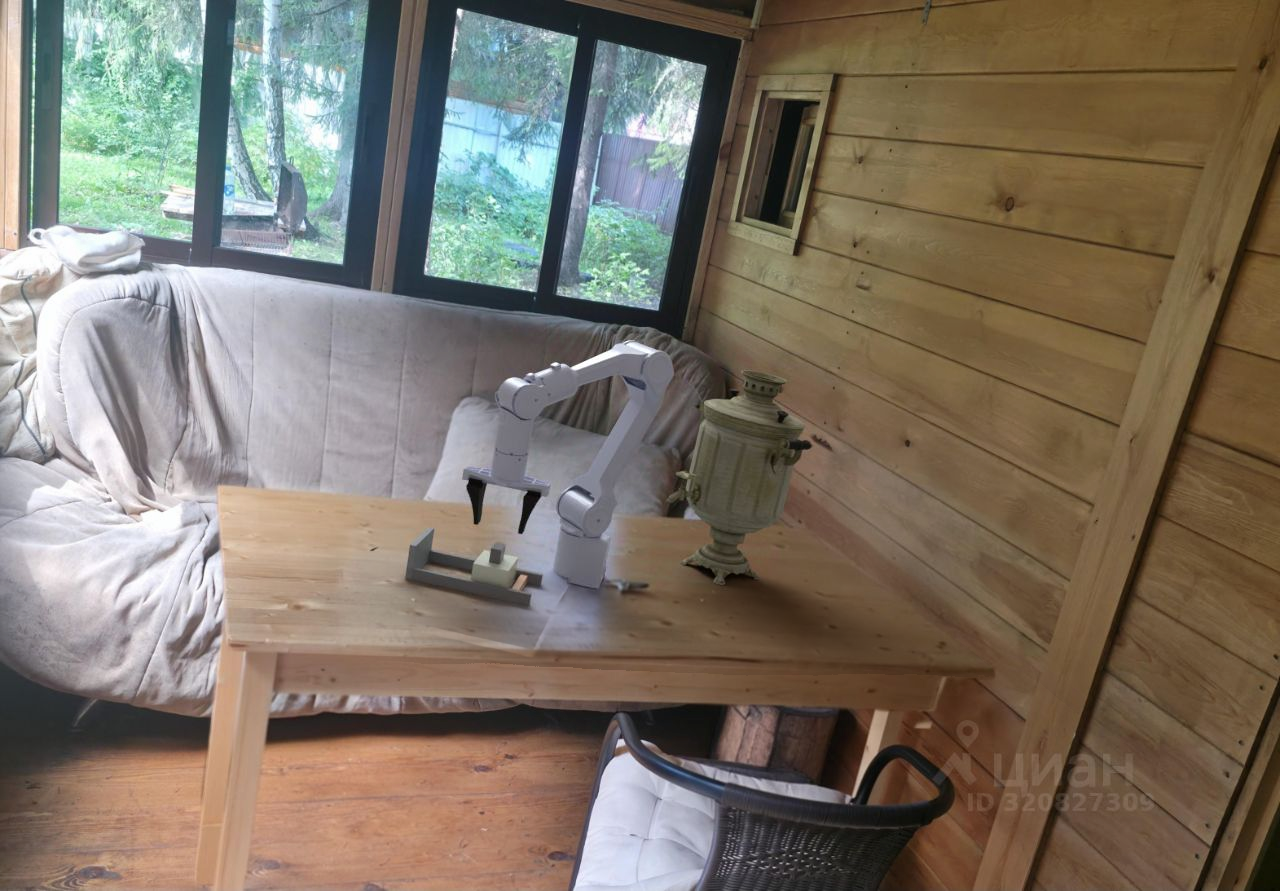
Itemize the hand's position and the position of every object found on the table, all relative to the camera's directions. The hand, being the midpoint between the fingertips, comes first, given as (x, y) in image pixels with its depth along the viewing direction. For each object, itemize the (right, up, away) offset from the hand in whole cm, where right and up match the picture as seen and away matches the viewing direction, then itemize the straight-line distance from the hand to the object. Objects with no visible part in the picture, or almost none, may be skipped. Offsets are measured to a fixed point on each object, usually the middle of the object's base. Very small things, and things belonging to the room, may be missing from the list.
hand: (499, 527), depth 170 cm
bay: (-4, -10, 0) cm, 11 cm away
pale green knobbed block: (-1, -10, 0) cm, 10 cm away
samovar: (+37, -11, +30) cm, 49 cm away
